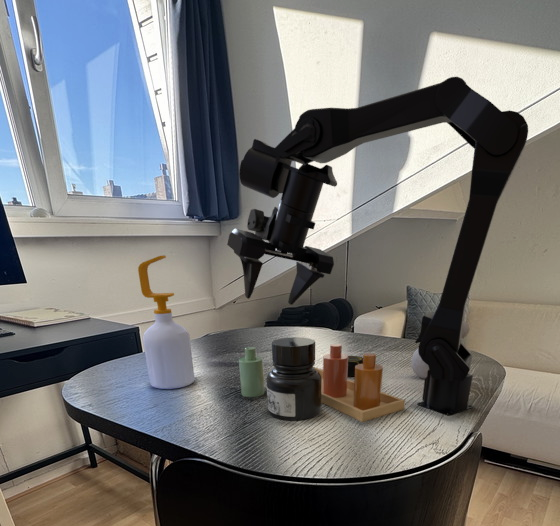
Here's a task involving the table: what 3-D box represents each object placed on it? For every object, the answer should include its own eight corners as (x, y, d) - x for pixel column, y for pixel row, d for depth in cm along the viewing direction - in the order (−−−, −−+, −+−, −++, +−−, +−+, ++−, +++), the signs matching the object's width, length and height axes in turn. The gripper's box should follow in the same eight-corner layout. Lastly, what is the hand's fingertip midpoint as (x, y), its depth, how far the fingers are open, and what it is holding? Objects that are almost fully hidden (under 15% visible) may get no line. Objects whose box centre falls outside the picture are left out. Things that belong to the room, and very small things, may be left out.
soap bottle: (189, 389, 82) (172, 255, 72) (144, 390, 82) (121, 257, 72) (198, 376, 90) (184, 254, 80) (157, 377, 90) (138, 255, 80)
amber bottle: (385, 408, 68) (389, 355, 64) (365, 414, 66) (368, 359, 62) (367, 401, 71) (370, 349, 68) (347, 406, 69) (349, 353, 66)
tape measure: (362, 370, 90) (363, 353, 89) (367, 379, 84) (368, 361, 83) (331, 370, 91) (332, 354, 89) (334, 380, 85) (334, 362, 83)
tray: (404, 411, 68) (405, 400, 67) (362, 424, 64) (362, 412, 63) (314, 376, 88) (314, 366, 87) (277, 384, 83) (277, 374, 82)
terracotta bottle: (351, 394, 75) (354, 345, 71) (332, 399, 73) (333, 349, 69) (336, 388, 78) (337, 341, 74) (317, 393, 76) (318, 344, 72)
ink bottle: (260, 407, 71) (256, 338, 66) (306, 400, 74) (306, 333, 69) (280, 428, 63) (277, 351, 58) (331, 419, 66) (333, 344, 61)
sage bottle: (268, 396, 77) (266, 348, 73) (248, 401, 75) (244, 352, 71) (257, 390, 80) (255, 344, 76) (237, 394, 78) (233, 347, 74)
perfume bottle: (409, 372, 88) (415, 314, 83) (458, 374, 85) (467, 315, 80) (409, 382, 82) (415, 321, 77) (461, 385, 79) (472, 322, 74)
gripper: (316, 209, 77) (290, 290, 85) (225, 181, 66) (206, 276, 75) (350, 226, 69) (318, 313, 78) (255, 197, 59) (229, 301, 67)
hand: (269, 300), depth 75 cm, fingers open, 9 cm apart
